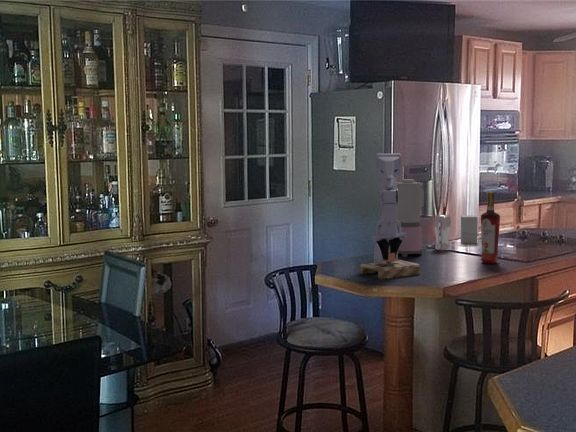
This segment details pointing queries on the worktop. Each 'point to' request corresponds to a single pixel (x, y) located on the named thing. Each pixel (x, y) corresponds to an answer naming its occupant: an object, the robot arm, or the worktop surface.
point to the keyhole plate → (391, 269)
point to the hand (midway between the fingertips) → (389, 259)
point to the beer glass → (442, 231)
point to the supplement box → (469, 228)
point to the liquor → (490, 232)
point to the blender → (410, 215)
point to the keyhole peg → (390, 258)
